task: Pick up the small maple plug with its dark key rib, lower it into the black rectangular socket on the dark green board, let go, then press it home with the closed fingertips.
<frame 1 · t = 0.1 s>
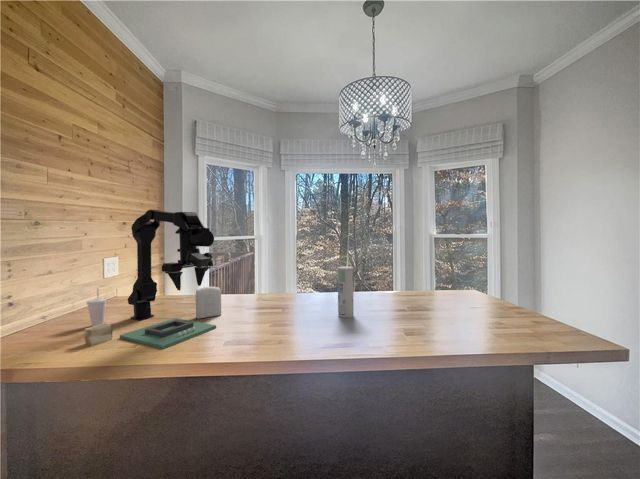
hand: (189, 288, 120), 15 cm above the table, tool pointing down, fingers open, 9 cm apart
socket board: (170, 332, 114), on the table
smoothie: (98, 325, 124), on the table
plug: (98, 341, 106), on the table
spray can: (345, 316, 133), on the table
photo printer: (209, 316, 134), on the table
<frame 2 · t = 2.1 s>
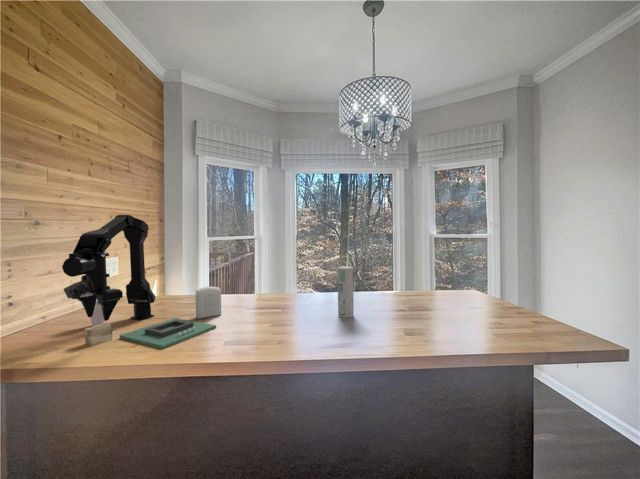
hand: (98, 318, 106), 8 cm above the table, tool pointing down, fingers open, 9 cm apart
nothing on the table moved.
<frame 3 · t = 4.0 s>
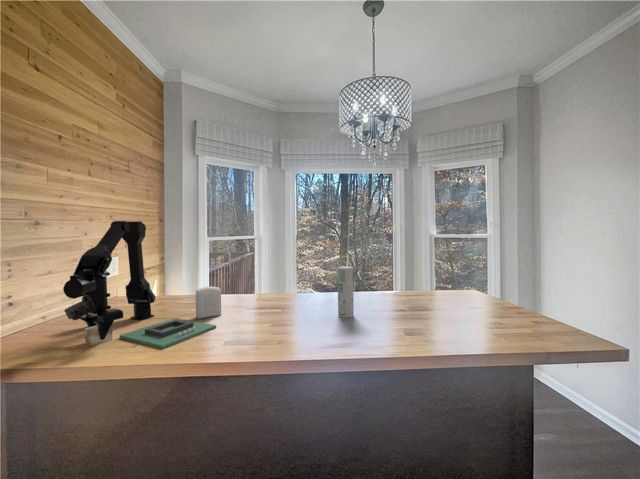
hand: (98, 338, 106), 1 cm above the table, tool pointing down, fingers closed on plug, 4 cm apart
plug: (98, 341, 106), on the table, touching gripper
everything else where it was.
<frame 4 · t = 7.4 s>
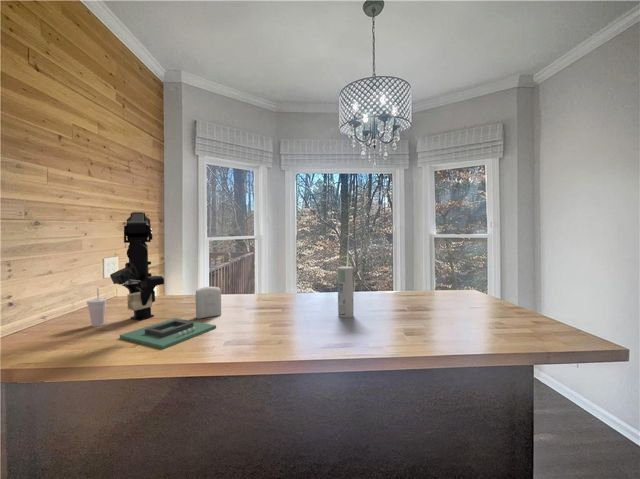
hand: (140, 304, 110), 11 cm above the table, tool pointing down, fingers closed on plug, 4 cm apart
plug: (140, 307, 110), point 10 cm above the table, touching gripper
everything else where it was.
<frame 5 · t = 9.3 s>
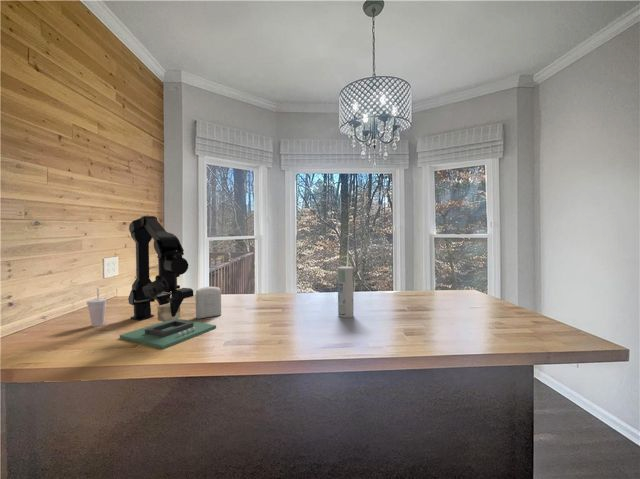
hand: (169, 315, 114), 6 cm above the table, tool pointing down, fingers closed on plug, 4 cm apart
plug: (169, 318, 114), point 5 cm above the table, touching gripper
everything else where it was.
when the fingers open (3 cm above the table, at t = 10.9 s): plug drops 1 cm, resting on socket board.
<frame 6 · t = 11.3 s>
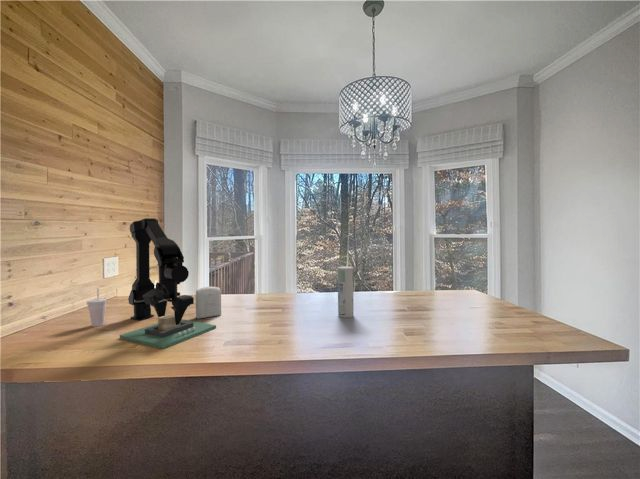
hand: (169, 323, 114), 3 cm above the table, tool pointing down, fingers open, 8 cm apart
plug: (169, 330, 114), point 1 cm above the table, touching socket board
everything else where it was.
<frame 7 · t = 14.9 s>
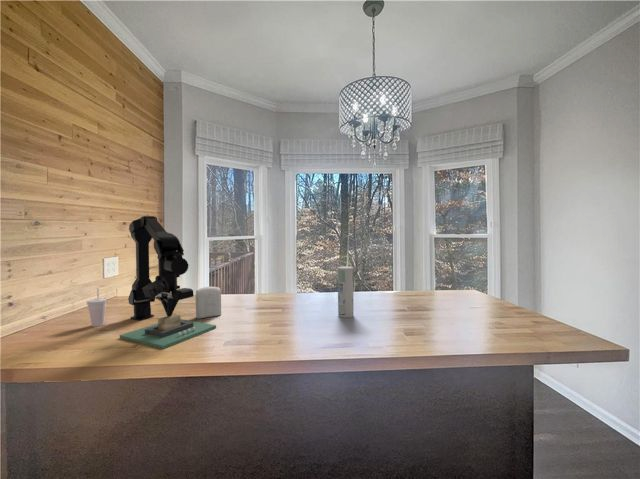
hand: (169, 316, 114), 6 cm above the table, tool pointing down, fingers closed, pressing on plug
plug: (169, 330, 114), point 1 cm above the table, touching gripper, socket board
everything else where it was.
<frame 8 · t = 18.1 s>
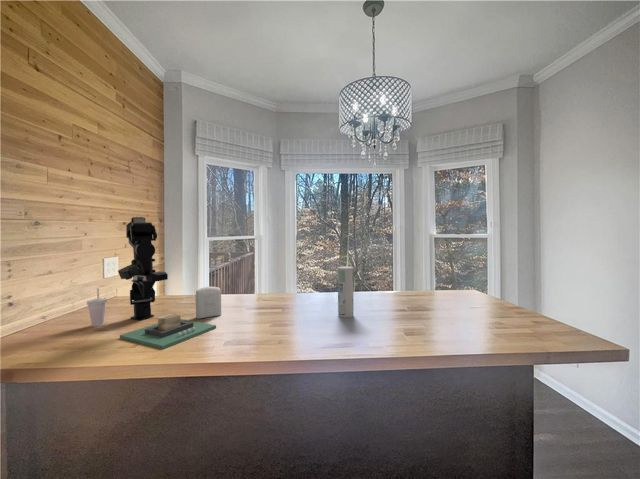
hand: (145, 298, 119), 11 cm above the table, tool pointing down, fingers closed
plug: (169, 330, 114), point 1 cm above the table, touching socket board
everything else where it was.
at the end: plug 0.1 cm off-centre on the socket board, point 1.0 cm above the socket board's base; plug tilted 0°; the gripper is holding nothing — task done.
